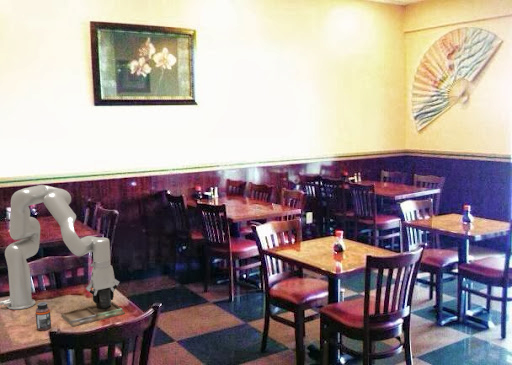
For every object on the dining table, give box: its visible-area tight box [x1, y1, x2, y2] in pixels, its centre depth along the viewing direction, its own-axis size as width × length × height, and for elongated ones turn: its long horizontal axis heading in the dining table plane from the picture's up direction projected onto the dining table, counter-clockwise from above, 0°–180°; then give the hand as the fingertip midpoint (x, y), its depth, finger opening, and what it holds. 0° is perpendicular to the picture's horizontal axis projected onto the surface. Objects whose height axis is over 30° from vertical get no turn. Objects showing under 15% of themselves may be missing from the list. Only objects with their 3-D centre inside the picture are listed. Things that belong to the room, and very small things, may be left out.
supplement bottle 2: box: [95, 288, 112, 310], centre depth 253 cm, size 7×7×12 cm
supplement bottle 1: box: [35, 301, 52, 331], centre depth 234 cm, size 6×6×11 cm
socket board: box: [60, 300, 126, 328], centre depth 249 cm, size 24×15×2 cm, turn 128°
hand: (103, 300), depth 253 cm, fingers closed on supplement bottle 2, 6 cm apart
